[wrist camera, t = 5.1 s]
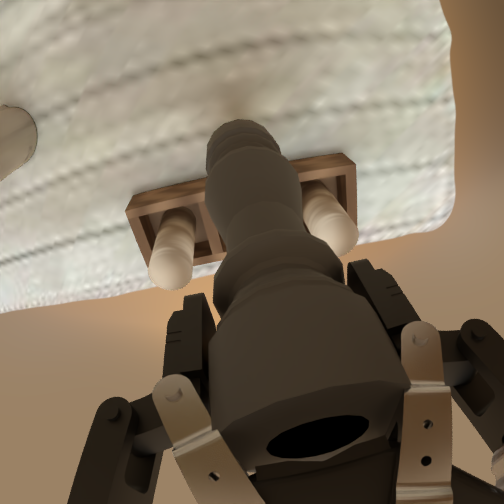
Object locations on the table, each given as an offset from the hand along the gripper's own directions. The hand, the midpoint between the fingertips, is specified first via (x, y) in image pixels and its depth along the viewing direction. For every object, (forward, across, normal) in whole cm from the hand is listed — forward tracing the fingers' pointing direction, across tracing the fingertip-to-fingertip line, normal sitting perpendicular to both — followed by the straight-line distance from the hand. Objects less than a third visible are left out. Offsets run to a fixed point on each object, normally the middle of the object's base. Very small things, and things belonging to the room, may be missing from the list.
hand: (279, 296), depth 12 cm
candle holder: (+19, 0, 0) cm, 19 cm away
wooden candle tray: (+33, +1, +12) cm, 35 cm away
